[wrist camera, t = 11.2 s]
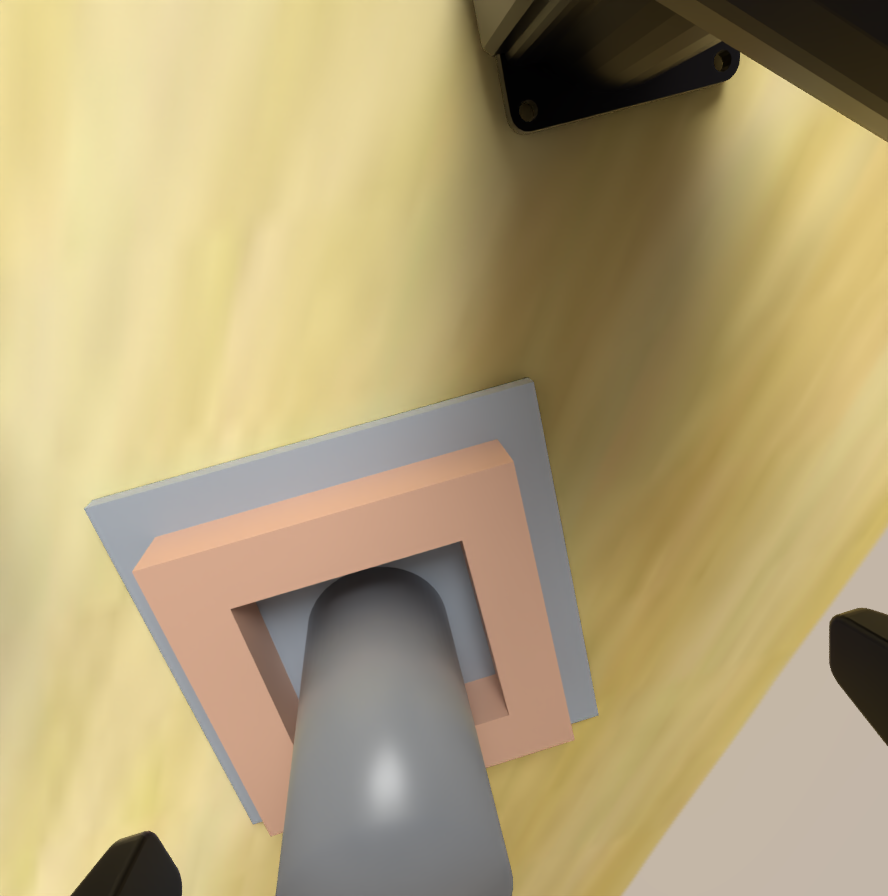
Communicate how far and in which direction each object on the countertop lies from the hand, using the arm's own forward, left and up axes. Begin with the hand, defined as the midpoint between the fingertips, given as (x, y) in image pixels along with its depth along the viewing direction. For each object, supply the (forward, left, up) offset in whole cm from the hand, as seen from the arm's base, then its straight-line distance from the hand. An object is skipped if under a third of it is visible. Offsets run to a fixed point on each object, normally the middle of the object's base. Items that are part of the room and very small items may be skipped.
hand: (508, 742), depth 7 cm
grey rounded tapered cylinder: (+3, +6, -11) cm, 13 cm away
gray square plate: (+3, +6, -12) cm, 14 cm away
